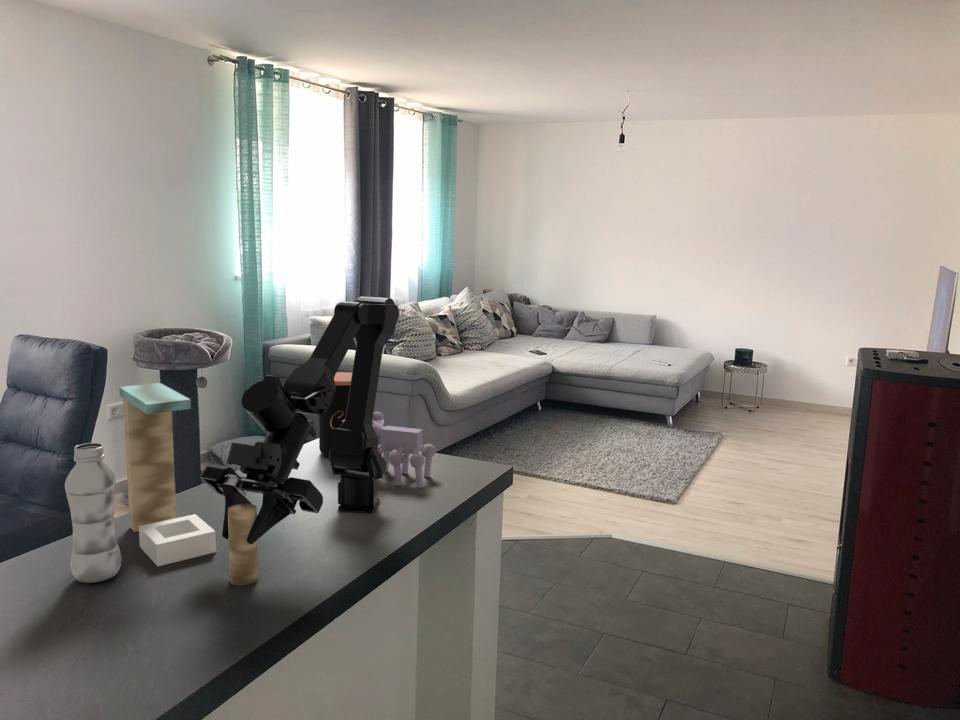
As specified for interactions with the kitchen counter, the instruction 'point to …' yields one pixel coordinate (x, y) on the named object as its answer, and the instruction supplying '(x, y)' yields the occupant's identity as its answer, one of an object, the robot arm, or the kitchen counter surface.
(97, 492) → the plastic bottle
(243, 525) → the peg
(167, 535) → the socket
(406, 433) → the toy sheep
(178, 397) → the tall textured pillar
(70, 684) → the kitchen counter surface
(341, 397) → the coffee jar
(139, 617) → the kitchen counter surface
